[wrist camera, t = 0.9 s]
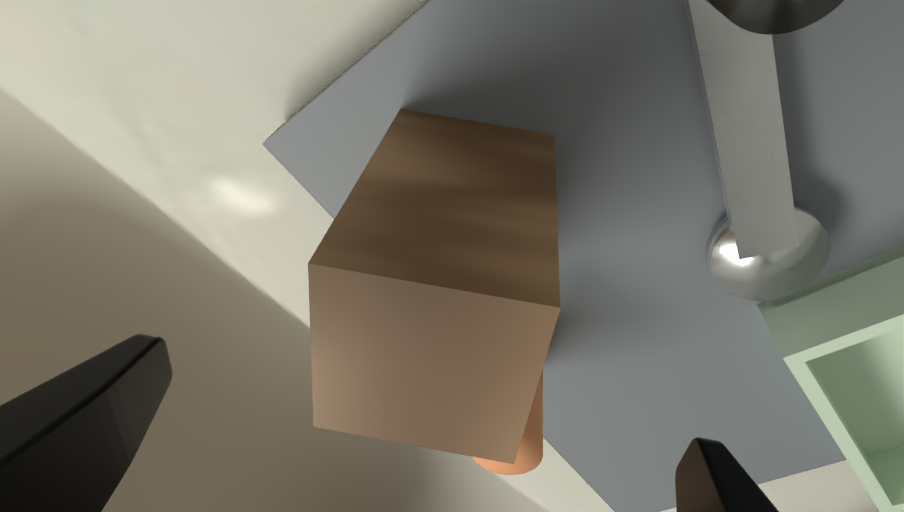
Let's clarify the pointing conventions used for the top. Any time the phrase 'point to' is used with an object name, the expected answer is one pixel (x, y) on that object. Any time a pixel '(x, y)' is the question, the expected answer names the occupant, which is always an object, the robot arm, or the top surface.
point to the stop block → (439, 288)
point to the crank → (754, 147)
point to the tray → (853, 364)
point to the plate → (640, 211)
